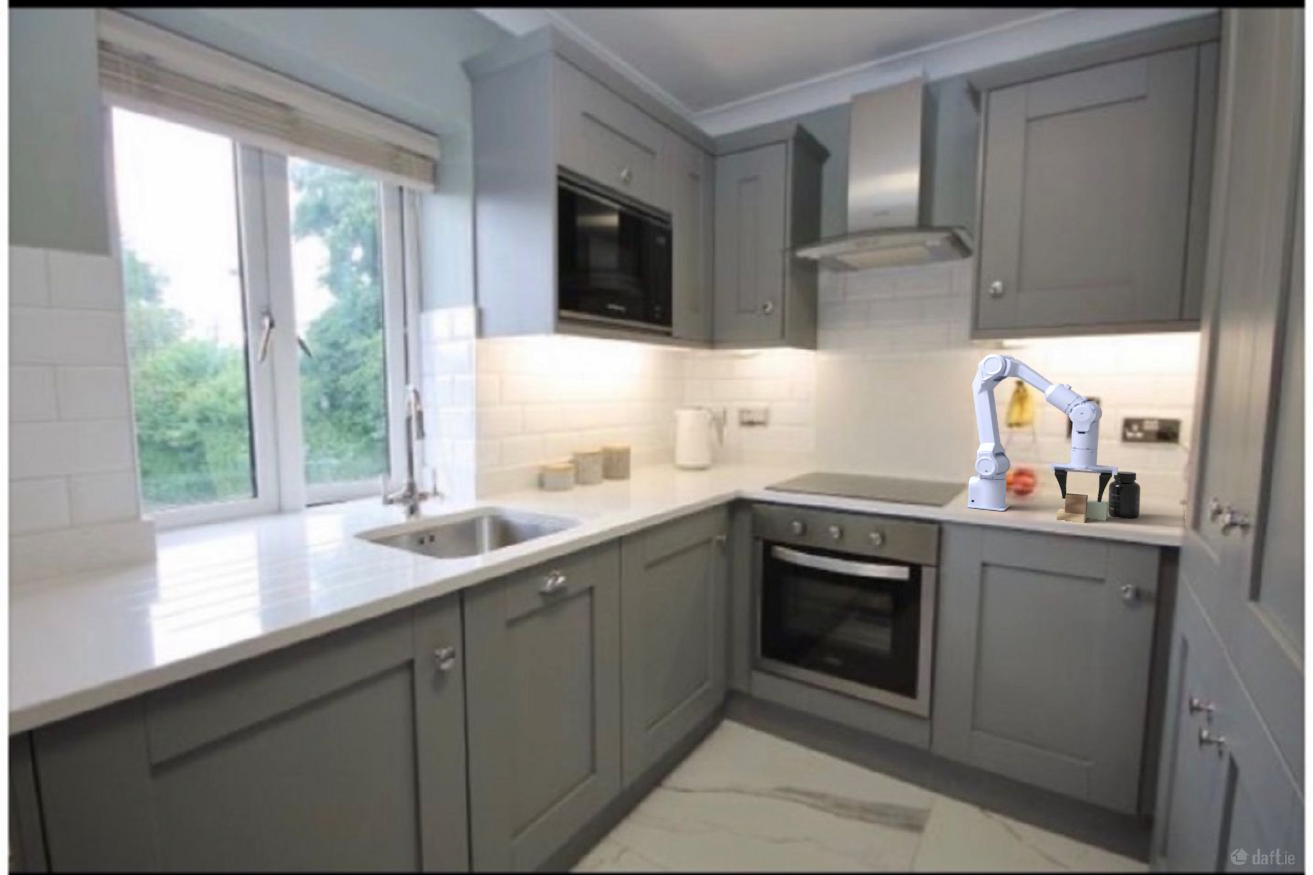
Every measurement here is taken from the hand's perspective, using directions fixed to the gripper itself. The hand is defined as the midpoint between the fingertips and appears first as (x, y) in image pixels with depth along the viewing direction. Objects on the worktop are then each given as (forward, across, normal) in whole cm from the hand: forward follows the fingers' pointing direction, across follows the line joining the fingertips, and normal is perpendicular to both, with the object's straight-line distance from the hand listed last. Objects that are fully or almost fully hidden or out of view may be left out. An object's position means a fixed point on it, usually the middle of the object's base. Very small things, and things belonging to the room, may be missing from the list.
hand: (1081, 499), depth 165 cm
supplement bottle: (+6, +8, +12) cm, 16 cm away
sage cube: (+6, +3, +6) cm, 8 cm away
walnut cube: (+3, -1, 0) cm, 4 cm away
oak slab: (+6, -2, 0) cm, 6 cm away
